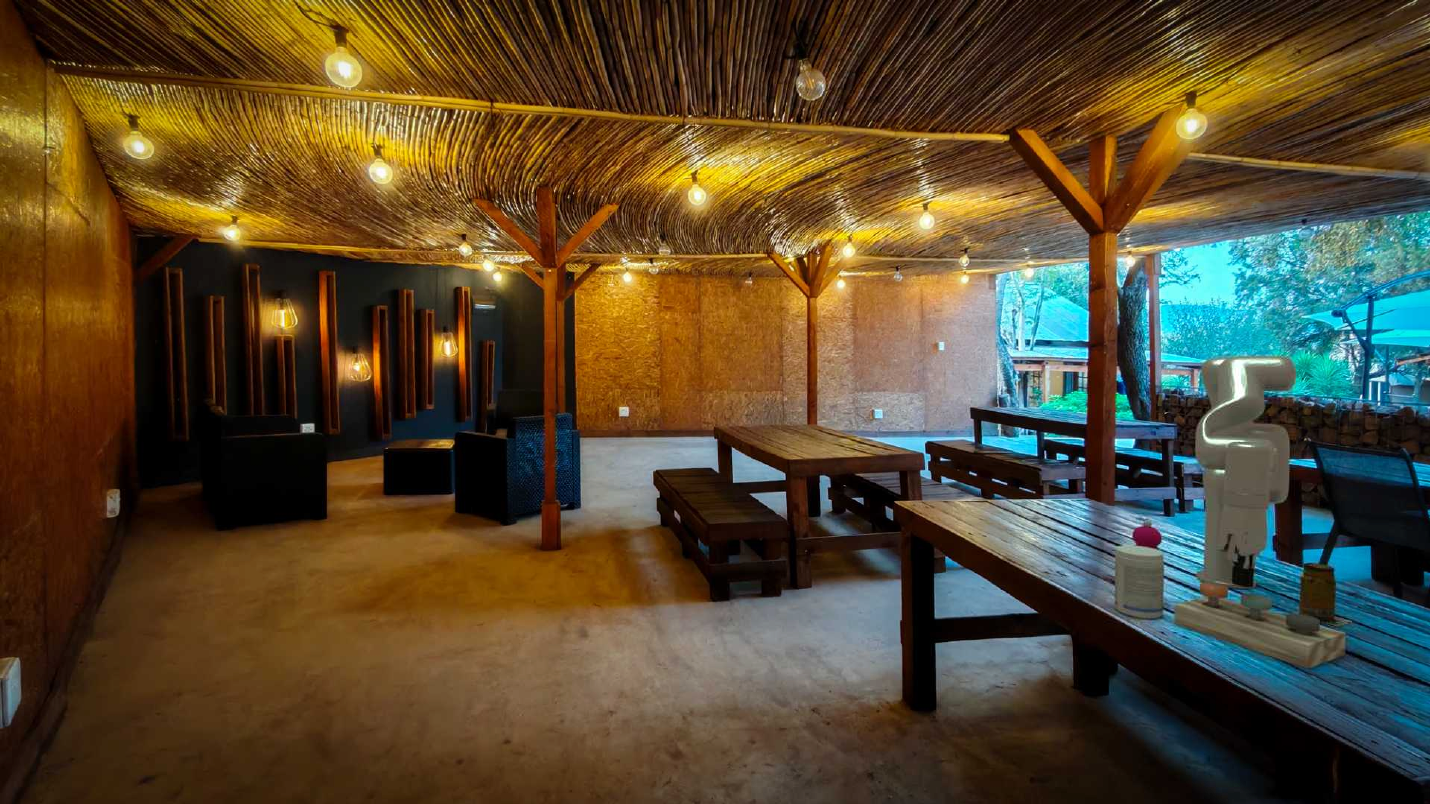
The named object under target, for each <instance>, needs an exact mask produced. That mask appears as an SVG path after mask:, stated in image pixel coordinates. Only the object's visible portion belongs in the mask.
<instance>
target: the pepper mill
mask: <svg viewBox="0 0 1430 804" xmlns="http://www.w3.org/2000/svg"><path fill="white" fill-rule="evenodd" d="M1152 524H1153V523H1152V521H1151V520H1149V519H1145V520H1143V522H1142V525H1141V526H1138V527H1136V528H1134V530H1133V531H1132V540H1133V542H1134V543H1135V544H1134V546H1142V547H1148V548H1153V549H1156V550H1159V551H1160V548H1159V547H1158V546H1160V544H1161V543H1162V539H1163V538H1162V533H1161V532H1160V531H1159V530H1158V529H1157V528H1155V527H1153V526H1152Z"/></svg>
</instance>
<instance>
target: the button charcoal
mask: <svg viewBox="0 0 1430 804" xmlns="http://www.w3.org/2000/svg"><path fill="white" fill-rule="evenodd" d="M1285 616H1286V625H1287V626H1289V627H1291V628H1294V629H1296V632H1297V633H1300V634H1304V635H1307V636H1308V632H1318V631H1319V630H1320V626H1321V624H1320V623H1321V622H1320V620H1318V619H1317V618H1314V617H1311V616H1308V615H1303V614H1296V613H1295V612H1290V613H1286V615H1285Z"/></svg>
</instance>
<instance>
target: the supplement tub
mask: <svg viewBox="0 0 1430 804" xmlns="http://www.w3.org/2000/svg"><path fill="white" fill-rule="evenodd" d="M1114 557H1115V558H1114V561H1115V562H1114V570H1115V572H1114V606H1115V609H1116V610H1117V611H1118V612H1120V613H1121V614H1124V615H1127V616H1130V617H1133V618H1139V619H1157V618H1160V617H1161V616H1162V615H1163V614H1164V588H1165V586H1164V584H1165V583H1164V582H1165V581H1164V580H1165V571H1164V570H1165V561H1164V553H1163V552H1162V551H1161V550H1160V549H1159V550H1156V549H1153V548H1148V547H1142V546H1135V545H1119V546H1117V547H1116V548H1115V556H1114Z"/></svg>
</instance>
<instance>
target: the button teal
mask: <svg viewBox="0 0 1430 804" xmlns="http://www.w3.org/2000/svg"><path fill="white" fill-rule="evenodd" d="M1240 603H1241V605H1243V606H1245V607H1248V608H1250V619H1253V620H1257V621H1261V610H1266V611H1271V610H1272V608H1273V607H1272V604H1273V603H1272V599H1271V598H1270V597H1268V596H1266V595H1262V594H1255V593H1242V594H1240Z"/></svg>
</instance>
